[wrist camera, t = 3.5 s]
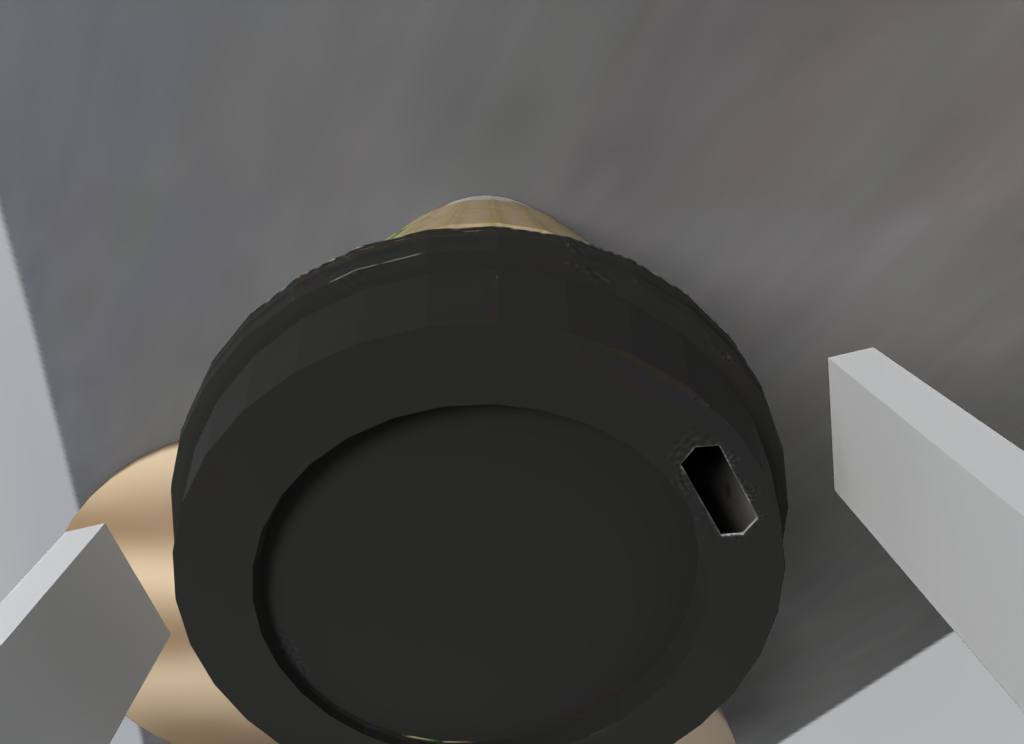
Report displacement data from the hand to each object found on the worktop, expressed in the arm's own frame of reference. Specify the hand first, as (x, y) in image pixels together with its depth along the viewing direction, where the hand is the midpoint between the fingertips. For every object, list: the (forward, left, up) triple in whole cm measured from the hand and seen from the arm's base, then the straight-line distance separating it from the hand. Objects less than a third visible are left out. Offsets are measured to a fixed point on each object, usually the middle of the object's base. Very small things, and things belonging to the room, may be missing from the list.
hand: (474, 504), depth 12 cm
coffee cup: (0, 0, -12) cm, 12 cm away
